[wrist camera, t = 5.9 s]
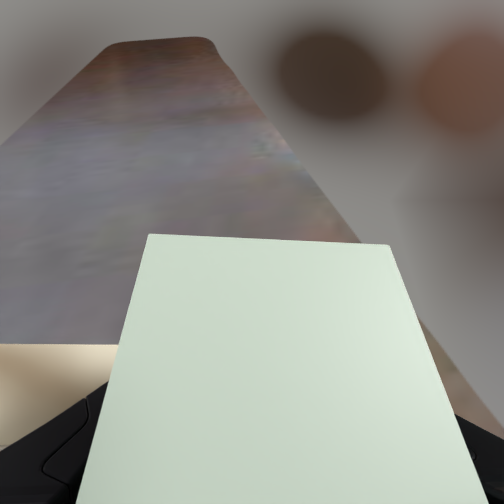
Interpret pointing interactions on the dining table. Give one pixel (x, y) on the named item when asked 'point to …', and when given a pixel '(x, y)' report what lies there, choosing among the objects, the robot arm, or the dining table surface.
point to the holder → (46, 382)
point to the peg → (274, 383)
